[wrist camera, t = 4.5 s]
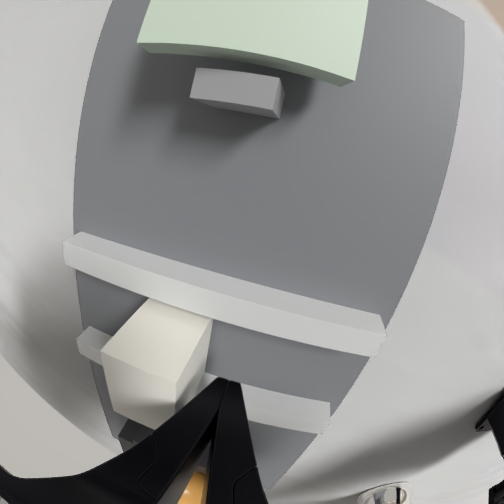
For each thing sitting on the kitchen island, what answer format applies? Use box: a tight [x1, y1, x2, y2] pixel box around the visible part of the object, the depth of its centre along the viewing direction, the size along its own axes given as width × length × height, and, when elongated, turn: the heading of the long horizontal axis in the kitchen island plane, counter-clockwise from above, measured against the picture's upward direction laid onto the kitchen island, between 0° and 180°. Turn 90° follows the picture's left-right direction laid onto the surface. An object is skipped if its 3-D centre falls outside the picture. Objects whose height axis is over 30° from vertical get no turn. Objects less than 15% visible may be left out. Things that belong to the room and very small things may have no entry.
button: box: [178, 471, 205, 504], centre depth 12 cm, size 4×4×2 cm
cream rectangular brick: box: [100, 298, 213, 430], centre depth 9 cm, size 2×3×4 cm
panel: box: [63, 0, 465, 489], centre depth 11 cm, size 13×29×4 cm, turn 168°
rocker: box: [137, 0, 368, 87], centre depth 5 cm, size 5×3×1 cm, turn 78°
